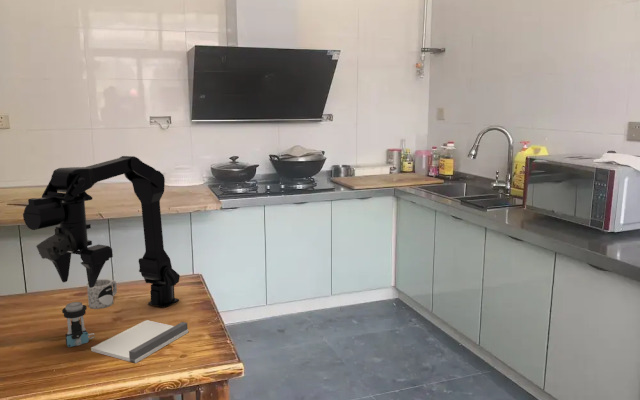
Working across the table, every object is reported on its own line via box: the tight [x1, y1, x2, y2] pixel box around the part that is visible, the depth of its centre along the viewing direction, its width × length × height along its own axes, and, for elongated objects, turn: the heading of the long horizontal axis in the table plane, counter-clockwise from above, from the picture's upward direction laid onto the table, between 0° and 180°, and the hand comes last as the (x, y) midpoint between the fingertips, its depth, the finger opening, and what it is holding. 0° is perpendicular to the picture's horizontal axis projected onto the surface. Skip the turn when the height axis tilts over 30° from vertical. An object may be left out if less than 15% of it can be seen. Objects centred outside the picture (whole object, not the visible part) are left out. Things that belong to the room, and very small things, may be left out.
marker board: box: [90, 319, 189, 364], centre depth 126 cm, size 18×14×2 cm
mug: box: [86, 278, 118, 310], centre depth 151 cm, size 10×7×7 cm
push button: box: [61, 301, 96, 348], centre depth 124 cm, size 7×5×10 cm
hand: (78, 284), depth 123 cm, fingers open, 9 cm apart
